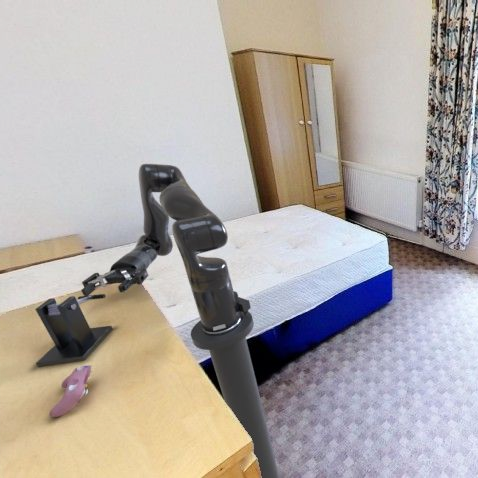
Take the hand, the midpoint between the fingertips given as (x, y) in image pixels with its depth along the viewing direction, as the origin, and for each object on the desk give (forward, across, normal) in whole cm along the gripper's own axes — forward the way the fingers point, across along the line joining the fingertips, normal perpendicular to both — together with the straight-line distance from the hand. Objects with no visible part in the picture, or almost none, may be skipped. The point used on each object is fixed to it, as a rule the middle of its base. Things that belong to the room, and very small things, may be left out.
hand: (102, 291), depth 93 cm
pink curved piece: (+33, +10, +8) cm, 35 cm away
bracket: (+15, 0, +7) cm, 17 cm away
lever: (+10, 0, -2) cm, 11 cm away
